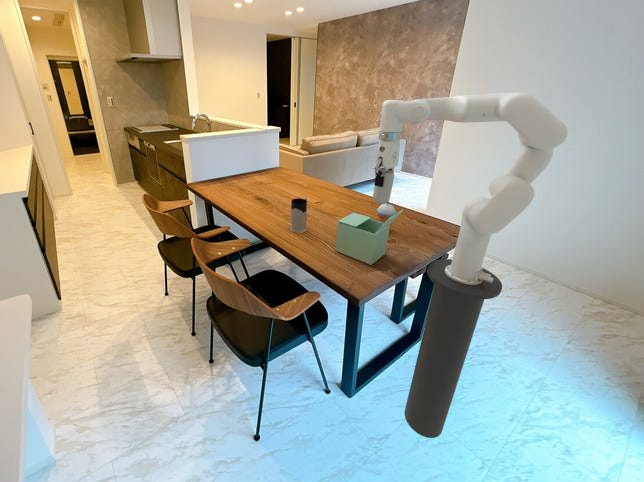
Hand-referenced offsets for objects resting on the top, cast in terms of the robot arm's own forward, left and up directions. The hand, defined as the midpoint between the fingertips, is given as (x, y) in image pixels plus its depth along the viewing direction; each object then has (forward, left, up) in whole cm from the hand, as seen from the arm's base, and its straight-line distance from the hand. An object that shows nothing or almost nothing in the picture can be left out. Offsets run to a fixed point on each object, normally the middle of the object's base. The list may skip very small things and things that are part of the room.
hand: (383, 183), depth 114 cm
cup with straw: (+8, -26, -31) cm, 42 cm away
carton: (+5, +2, -31) cm, 32 cm away
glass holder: (+40, 0, -31) cm, 51 cm away
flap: (-5, +2, -13) cm, 14 cm away
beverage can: (0, 0, -7) cm, 7 cm away
